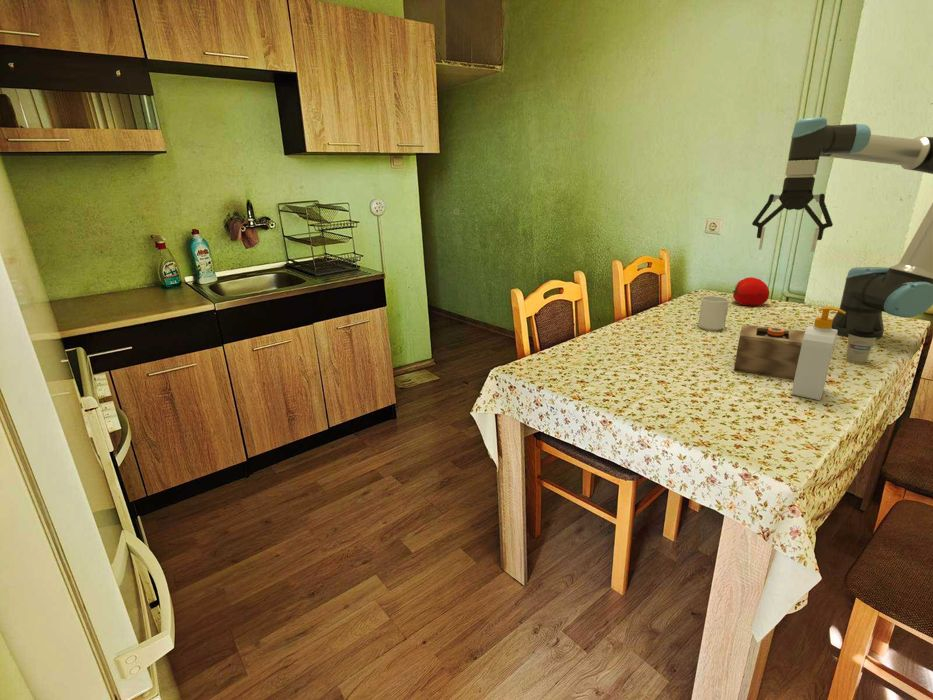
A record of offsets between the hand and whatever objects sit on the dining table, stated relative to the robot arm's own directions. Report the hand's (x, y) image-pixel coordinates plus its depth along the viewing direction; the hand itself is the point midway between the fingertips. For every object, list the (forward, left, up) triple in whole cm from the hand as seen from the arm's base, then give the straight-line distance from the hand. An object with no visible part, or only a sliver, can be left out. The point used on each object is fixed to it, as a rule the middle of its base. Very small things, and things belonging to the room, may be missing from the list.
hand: (785, 250), depth 148 cm
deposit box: (0, +20, -32) cm, 37 cm away
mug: (+18, -17, -32) cm, 40 cm away
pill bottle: (-1, +20, -31) cm, 37 cm away
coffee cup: (-23, +2, -32) cm, 39 cm away
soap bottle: (-10, +34, -32) cm, 48 cm away
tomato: (+8, -58, -32) cm, 67 cm away
